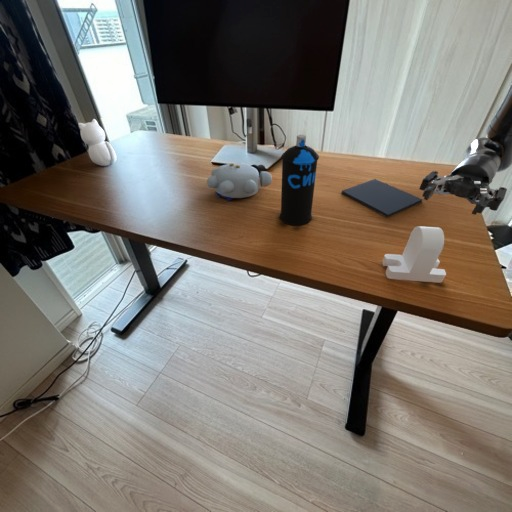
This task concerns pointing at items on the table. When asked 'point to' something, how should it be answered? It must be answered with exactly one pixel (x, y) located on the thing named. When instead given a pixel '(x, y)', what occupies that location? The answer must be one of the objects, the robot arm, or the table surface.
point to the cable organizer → (418, 257)
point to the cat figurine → (97, 143)
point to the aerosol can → (298, 183)
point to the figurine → (238, 180)
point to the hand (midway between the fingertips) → (450, 202)
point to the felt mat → (381, 197)
